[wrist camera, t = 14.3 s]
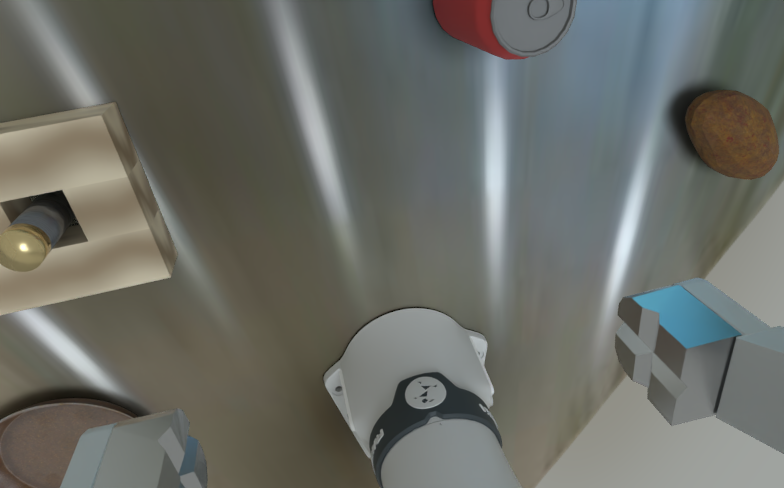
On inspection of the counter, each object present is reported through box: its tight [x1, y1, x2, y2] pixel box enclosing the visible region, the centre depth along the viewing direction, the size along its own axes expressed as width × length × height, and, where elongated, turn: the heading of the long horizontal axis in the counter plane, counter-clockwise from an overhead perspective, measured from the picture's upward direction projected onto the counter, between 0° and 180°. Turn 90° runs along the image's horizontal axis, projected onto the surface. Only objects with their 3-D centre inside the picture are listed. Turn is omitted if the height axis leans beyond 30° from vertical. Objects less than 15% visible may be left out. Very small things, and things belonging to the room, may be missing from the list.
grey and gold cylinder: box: [0, 190, 76, 272], centre depth 39 cm, size 3×3×9 cm
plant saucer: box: [0, 398, 138, 488], centre depth 55 cm, size 18×18×3 cm
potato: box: [685, 90, 779, 180], centre depth 49 cm, size 7×12×7 cm, turn 56°
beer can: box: [433, 0, 577, 59], centre depth 37 cm, size 7×7×12 cm
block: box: [0, 102, 178, 315], centre depth 41 cm, size 14×14×4 cm
